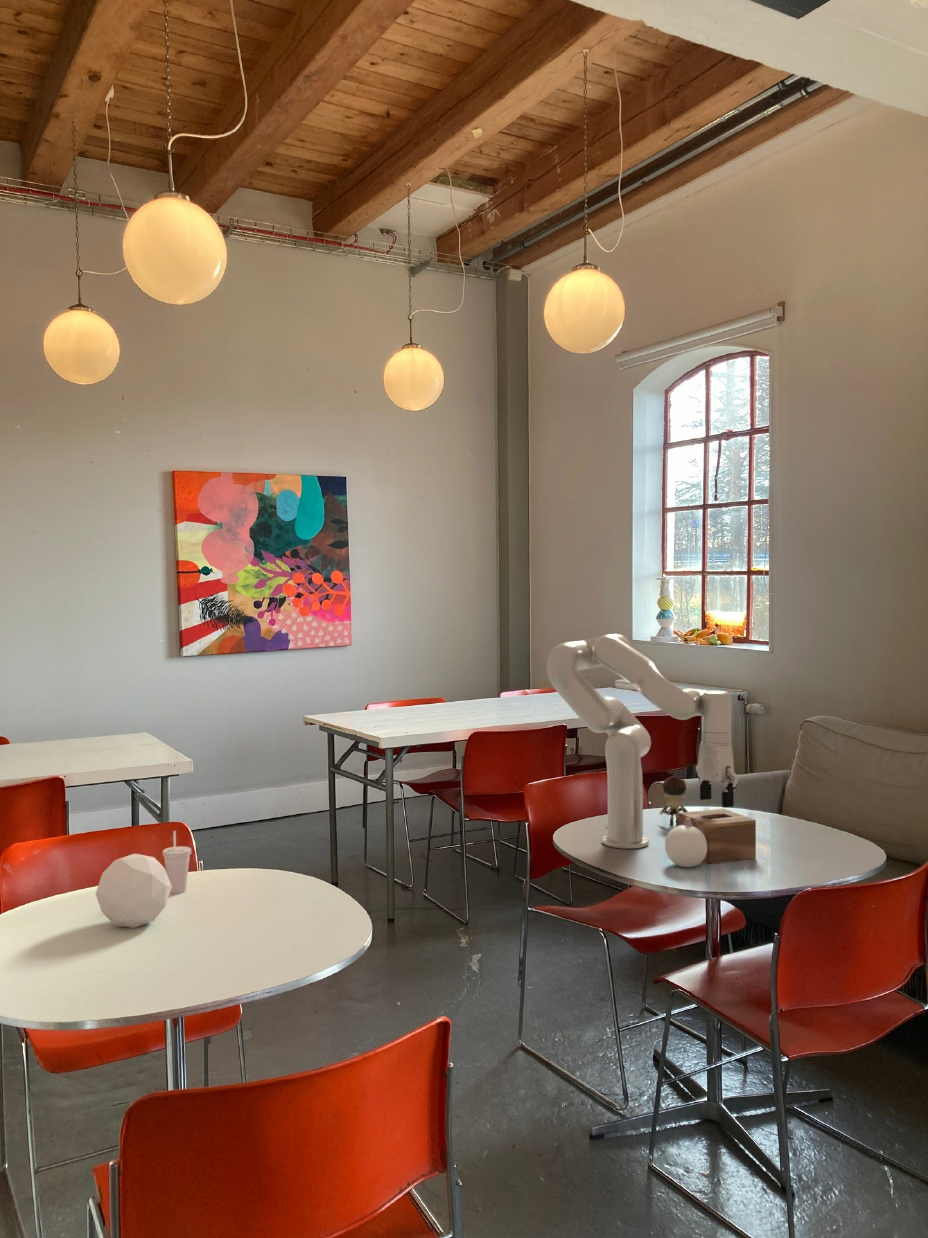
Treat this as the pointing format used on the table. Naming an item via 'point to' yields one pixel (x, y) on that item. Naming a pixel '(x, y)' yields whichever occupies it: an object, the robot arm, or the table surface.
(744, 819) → the box
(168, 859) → the smoothie
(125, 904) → the geometric shape
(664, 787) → the toy
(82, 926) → the table surface
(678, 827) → the ornament
